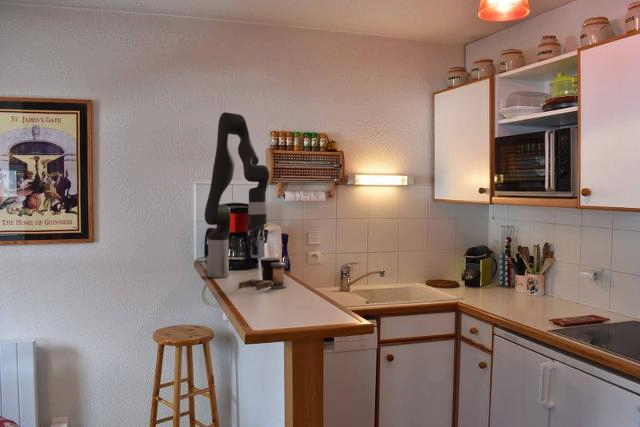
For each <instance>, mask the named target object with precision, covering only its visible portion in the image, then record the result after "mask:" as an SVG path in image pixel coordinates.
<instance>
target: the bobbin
mask: <svg viewBox="0 0 640 427" xmlns="http://www.w3.org/2000/svg"><path fill="white" fill-rule="evenodd" d="M271 266H273V283H272V285H271V286H270V288H271V289H272V290H273V289H274V290H281V289H282V290H283V289H286V287H287V286H286V284H284V283H285V282H284V281H285V278H284V277H285V276H284V275H285V269H284V268H285V267H286V266H287V264H286V262H281V261H280V262H277V263H271Z"/></svg>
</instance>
